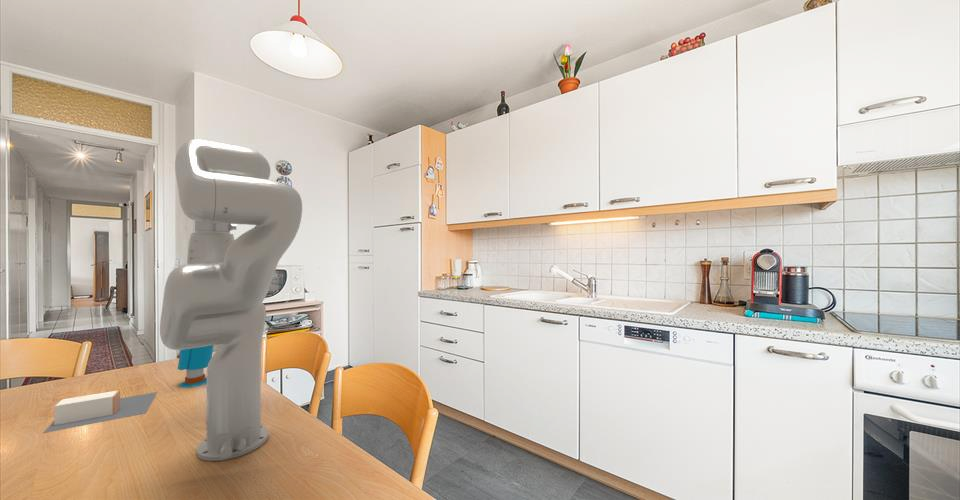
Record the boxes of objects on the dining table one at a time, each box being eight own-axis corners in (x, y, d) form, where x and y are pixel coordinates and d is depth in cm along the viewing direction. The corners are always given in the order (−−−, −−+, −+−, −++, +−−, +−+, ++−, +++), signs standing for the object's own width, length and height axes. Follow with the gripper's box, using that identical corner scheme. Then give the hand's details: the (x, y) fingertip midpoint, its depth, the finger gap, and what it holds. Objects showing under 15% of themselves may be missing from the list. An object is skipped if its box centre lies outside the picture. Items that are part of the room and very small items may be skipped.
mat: (145, 414, 88) (145, 413, 88) (42, 434, 79) (42, 433, 79) (157, 393, 102) (157, 391, 102) (70, 408, 92) (70, 406, 92)
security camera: (209, 317, 106) (169, 318, 103) (209, 387, 106) (169, 390, 103) (220, 312, 114) (183, 313, 111) (220, 377, 114) (183, 380, 111)
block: (114, 396, 88) (54, 406, 82) (114, 414, 88) (54, 425, 82) (119, 390, 92) (62, 399, 86) (119, 407, 92) (62, 417, 86)
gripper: (246, 230, 100) (245, 294, 100) (177, 228, 92) (177, 298, 92) (246, 228, 94) (246, 297, 94) (173, 226, 85) (173, 301, 85)
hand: (212, 297), depth 93 cm, fingers closed
